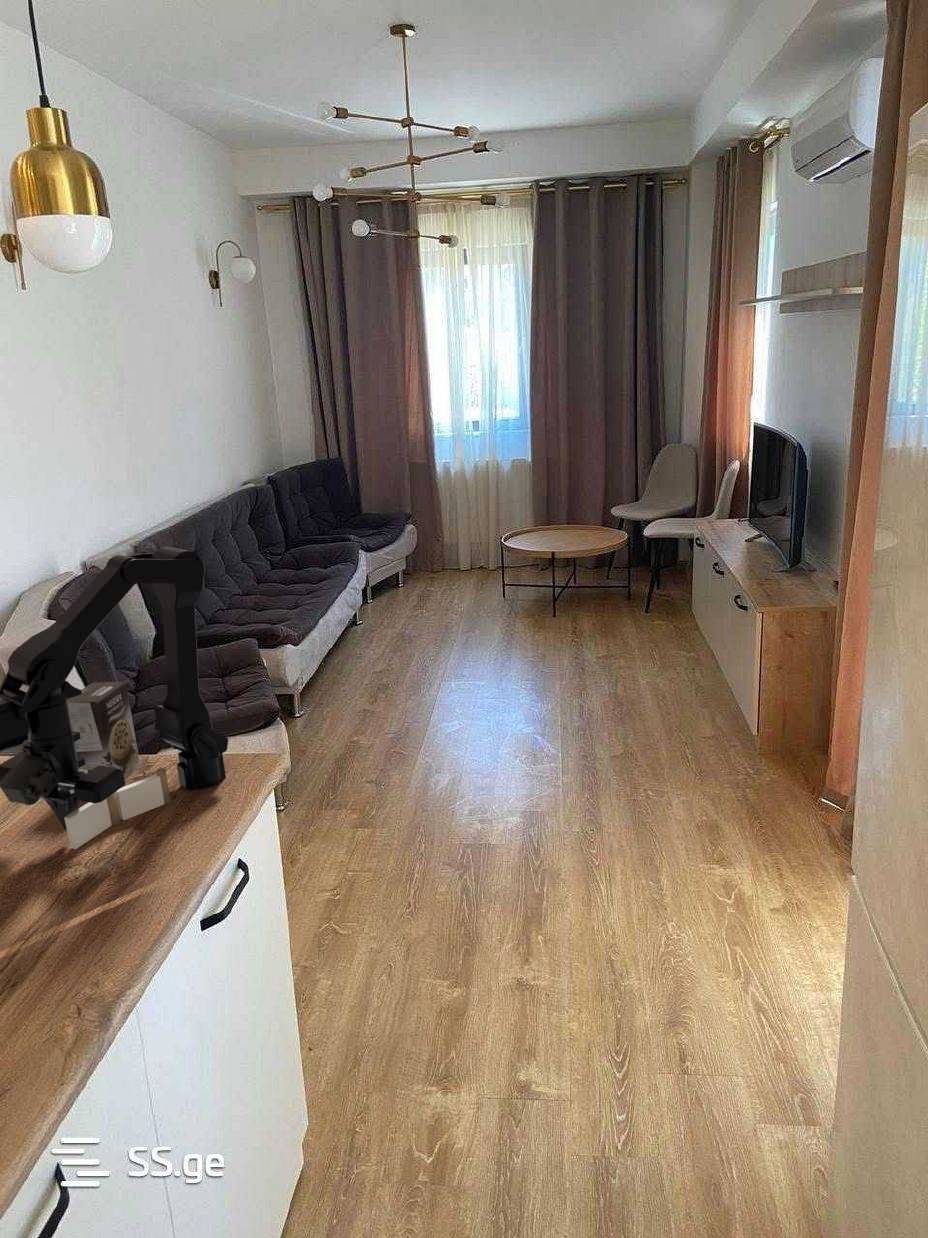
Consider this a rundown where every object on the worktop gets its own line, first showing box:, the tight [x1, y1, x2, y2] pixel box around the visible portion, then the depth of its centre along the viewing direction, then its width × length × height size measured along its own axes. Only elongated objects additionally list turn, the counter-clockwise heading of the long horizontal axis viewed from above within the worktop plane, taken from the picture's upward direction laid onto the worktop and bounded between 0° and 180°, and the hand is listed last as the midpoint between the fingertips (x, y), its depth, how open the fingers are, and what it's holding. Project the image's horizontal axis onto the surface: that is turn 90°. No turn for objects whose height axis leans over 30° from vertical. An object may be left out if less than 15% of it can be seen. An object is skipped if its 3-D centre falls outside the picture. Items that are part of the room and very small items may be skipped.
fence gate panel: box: [64, 798, 113, 850], centre depth 134 cm, size 7×1×5 cm, turn 156°
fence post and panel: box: [107, 767, 172, 826], centre depth 141 cm, size 10×2×6 cm, turn 133°
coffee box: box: [67, 681, 141, 780], centre depth 152 cm, size 9×6×16 cm
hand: (68, 828), depth 134 cm, fingers closed
